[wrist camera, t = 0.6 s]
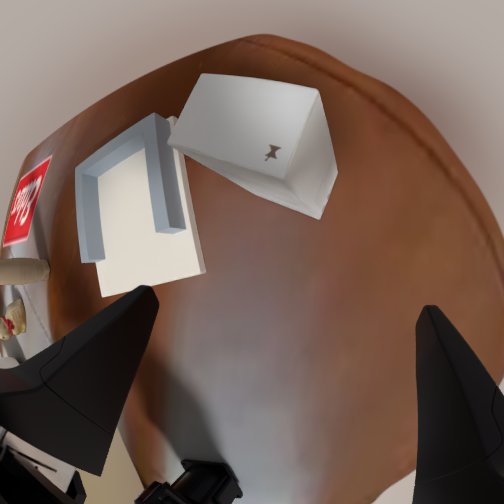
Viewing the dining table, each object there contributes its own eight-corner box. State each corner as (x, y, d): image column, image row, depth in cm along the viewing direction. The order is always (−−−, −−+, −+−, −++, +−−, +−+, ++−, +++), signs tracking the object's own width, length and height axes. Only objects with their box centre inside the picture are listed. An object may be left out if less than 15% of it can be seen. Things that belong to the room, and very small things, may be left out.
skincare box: (339, 171, 20) (324, 88, 9) (320, 221, 21) (285, 184, 9) (270, 148, 22) (199, 69, 11) (252, 194, 23) (161, 146, 11)
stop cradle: (206, 272, 24) (184, 275, 21) (108, 296, 29) (85, 299, 25) (178, 119, 25) (158, 105, 22) (93, 171, 30) (73, 166, 27)
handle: (43, 291, 35) (-32, 298, 21) (39, 252, 35) (-35, 253, 21) (55, 288, 33) (-28, 296, 19) (51, 247, 34) (-31, 246, 20)
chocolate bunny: (16, 318, 41) (-19, 323, 32) (20, 294, 40) (-19, 298, 30) (25, 338, 40) (-12, 346, 30) (29, 315, 38) (-12, 322, 29)
